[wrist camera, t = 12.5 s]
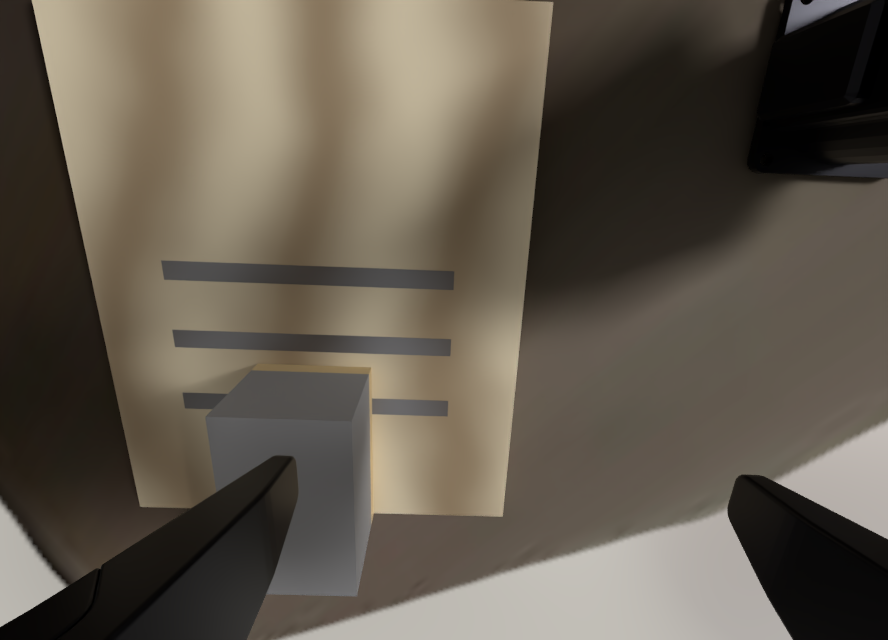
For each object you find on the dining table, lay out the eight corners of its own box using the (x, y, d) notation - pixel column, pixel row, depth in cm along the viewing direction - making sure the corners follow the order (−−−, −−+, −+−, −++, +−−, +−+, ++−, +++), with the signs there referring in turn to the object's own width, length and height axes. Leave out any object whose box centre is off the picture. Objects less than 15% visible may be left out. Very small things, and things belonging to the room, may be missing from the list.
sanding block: (371, 367, 19) (351, 421, 15) (373, 513, 22) (356, 596, 17) (257, 363, 19) (205, 416, 15) (272, 511, 22) (231, 593, 17)
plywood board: (545, 15, 16) (553, 1, 15) (499, 499, 23) (502, 516, 22) (56, -9, 16) (26, -24, 15) (155, 490, 23) (139, 507, 21)
